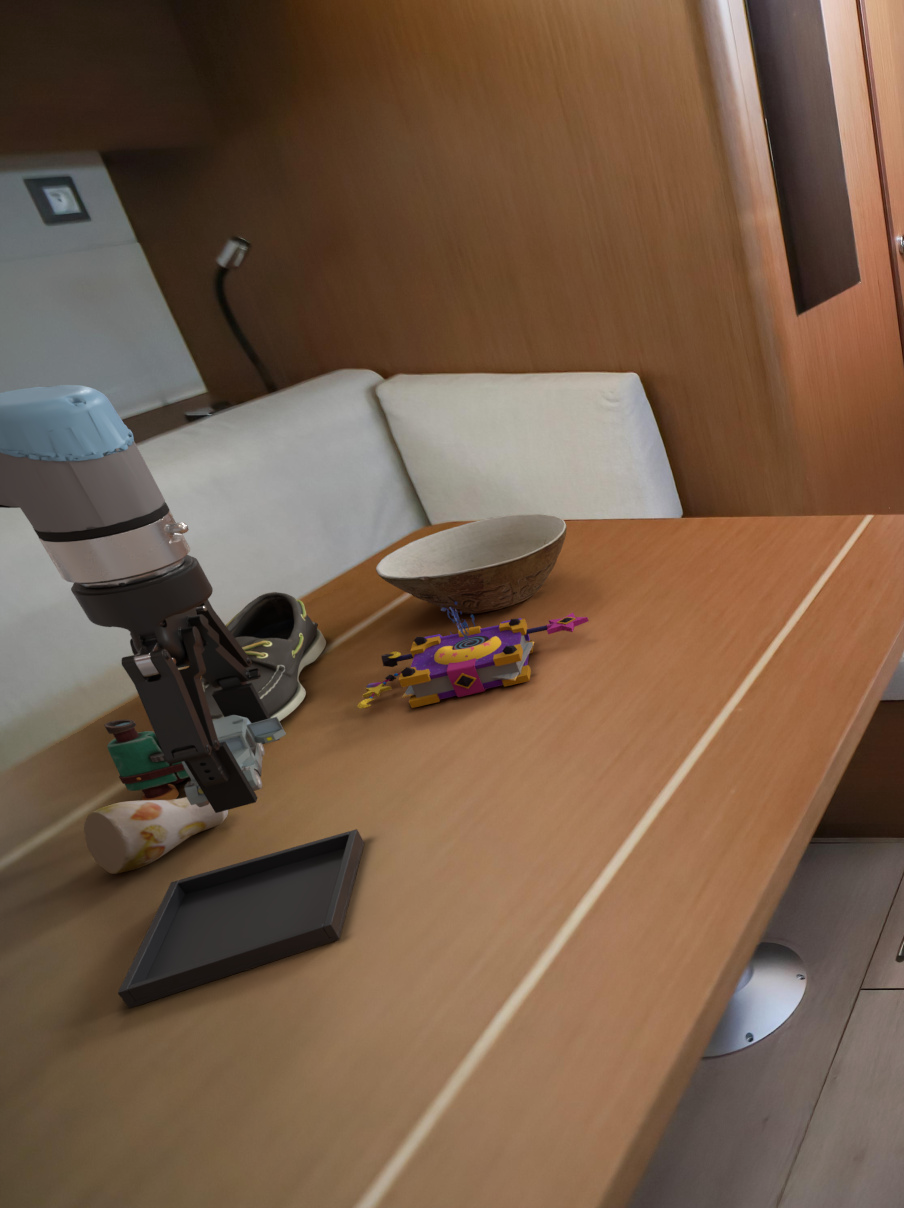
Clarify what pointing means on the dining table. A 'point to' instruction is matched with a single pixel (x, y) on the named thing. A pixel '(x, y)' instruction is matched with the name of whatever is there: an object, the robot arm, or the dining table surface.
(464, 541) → the bowl
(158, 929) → the tray
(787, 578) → the dining table surface
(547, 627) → the purple toy
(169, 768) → the binoculars
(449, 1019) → the dining table surface
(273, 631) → the boat shoe
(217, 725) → the toy car
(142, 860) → the mug
